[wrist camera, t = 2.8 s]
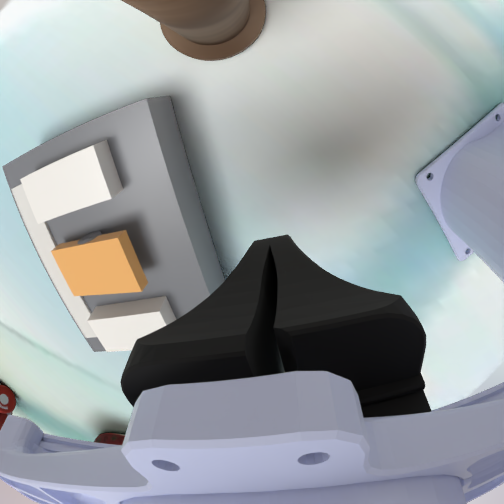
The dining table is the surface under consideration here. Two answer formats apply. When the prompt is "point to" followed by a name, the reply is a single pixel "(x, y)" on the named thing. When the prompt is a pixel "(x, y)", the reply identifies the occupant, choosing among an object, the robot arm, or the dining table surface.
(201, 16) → the walnut post
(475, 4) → the dining table surface
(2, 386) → the toy fire truck
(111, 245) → the breaker paddle
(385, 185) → the dining table surface
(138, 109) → the switch box
